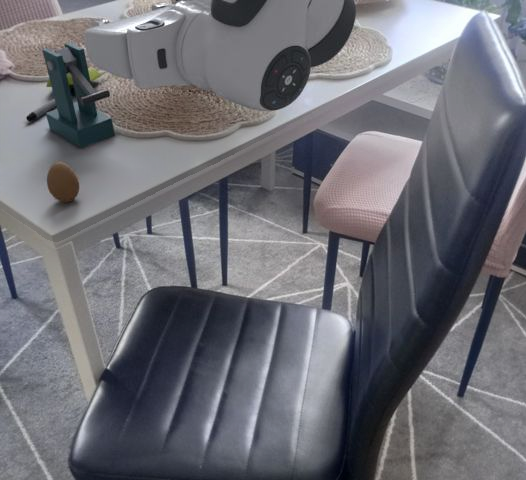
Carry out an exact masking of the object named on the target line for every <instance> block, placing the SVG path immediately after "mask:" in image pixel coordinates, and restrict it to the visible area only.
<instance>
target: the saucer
mask: <svg viewBox="0 0 526 480" xmlns="http://www.w3.org/2000/svg"><path fill="white" fill-rule="evenodd" d="M88 71H89V76H90V81H91V82H93V81H95V80H96V79H98V78H100V77H102V75H101V73H100V72H99V71H98V70H96V69H95V68H94V67H92V66H88ZM67 79H68V83H69V86H74V85H73V80H72V76H71V74H70V73H68V74H67ZM45 87H46V88H52V86H51V82H50V78H49V77H48V80H47V83H46V86H45Z"/></svg>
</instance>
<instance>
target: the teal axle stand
mask: <svg viewBox="0 0 526 480" xmlns="http://www.w3.org/2000/svg"><path fill="white" fill-rule="evenodd" d="M63 45H64V48H66V47H67V48H68V49H69V50H70V52H71V53H72V54H73V55H74V57H75V58H76V59H77V65H76V67H77V69H78V70H79V71H80V72H81V74H82V75H83V76H84V77H85V79H86V80H87V81H88V82H89V84H90V85H91V86H92V81H90V76H89V71H88V67H89V66H88V62H87V57H86V52H85V49H84V47H81V46H78V45H76V44H75V43H72V42H70V41H69V42H66V43H64V44H63ZM42 54H43V58H44V62H45V66H46V71H47V73H48V79H49V78H50V82H51V86H52V87H51V89H52V93H53V97H54V98H53V99H55V102H56V106H55V107H56V109H53V110H49V111H47V112H45V116H46V120H47V124H48V128H49V130H50V131H52V132H54V133H55V134H57V135H58V136H60V137H62V138H63V139H65V140H67V141H68V142H70V143H72V144H73V145H75V146H76V147H78V148H81V149H83V148H85V147H87V146H89V145H92V144H94V143H97V142H100V141H102V140H105V139H108V138H110V137H113V136H115V135H116V134H115V129H114V123H113V117H111V116H109V115H107V114H105V113H103V112H102V111H99V110H98V109H97V105H96V101H95V102H93V103H90V104H87V105H84V106H82V105H81V103H80V100H79V99H80V98H81V97H84V96H87V94H86V93H85V91H84V90H83V89H82V88H81V86H80V85H79V84H78V83H77V81H76V80H75V79H74V78H73V76H72V75H71V76H72V80H73V85H72V86H73V87H74V89H75V98H76V102H74V100H73V95H72V96H71V92H70V85H69V83H68V79H67V74H66V70H65V66H64V61H63V57H62V55H61V54H58V53H56V52H55V50H52V49H50V48H44V49H42Z"/></svg>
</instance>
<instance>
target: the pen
mask: <svg viewBox="0 0 526 480" xmlns="http://www.w3.org/2000/svg"><path fill="white" fill-rule="evenodd" d="M70 92H71V96H72V97H73V95H76V93H75V89H74V86H72V87H71V88H70ZM55 107H57V106H56V102H55V98H52V99H51V100H50V101H48V102H46V103H45V104H43V105H41V106H40V107H38V108H36V109H35V110H33V111H31V112H30V113H29V114H28V115H26V117H25V118H26V120H27V121H28V122H32V121H34V120H37V119H38V118H39V117H41V116H43V115H44V114H46V113H47V112H49V111H51V110H52V109H53V108H55Z"/></svg>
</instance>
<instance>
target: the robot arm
mask: <svg viewBox="0 0 526 480" xmlns="http://www.w3.org/2000/svg"><path fill="white" fill-rule="evenodd" d="M170 1H171V3H165V2H161V1H160V2H157V3H153V4H151V7H150V8H151V10H150V11H149V10H148V11H146V12H142V13H139V14H136V15H132V16H128V17H125V18H121V19H118V20H114V21H110V20H108V19H105V18H103V17H102V18H98V19H94V20H93V21H92V23H91V25H92V27H89V28H87V29H85V30H84V33H83V34H84V35H83V41H84V47H85V51H86V55H87V58H88V60H89V62H90V63H91V64H92V65H93V66H95V67H97V68H98V69H100V70H103V71H105V72H106V73H108V74H111V75H113V76H115V77H119V78H121V79H127V80H133V84H134V86H135V87H137V88H139V89H141V90H150V89H151V90H152V89H157V88H163V87H164V88H165V87H171V86H172V87H176V86H179V87H191V86H194V87H197V88H199V89H202V90H205V91H206V90H207V91H212V92H213V93H214V94H215V95H216V96H218V97H220V98H222V99H224V100H226V101H228V102H231V103H233V104H235V105H238V106H241V107H244V108H247V109H250V110H256V111H261V112H276V111H279V110H282V109H284V108H286V107H288V106H290V105H291V104H293V103H294V102H295V101H296V100H297V99H298V98H299V96H301V95H302V93H303V91H304V89H305V88H306V86H307V84H308V81H309V78H310V75H311V69H312V68H315V67H318V66H321V65H323V64H325V63H328V62H329V61H331V60H333V59H334V58H335V57H336V56H337V55H338V54H339V53H340V52H342V50H343V49H344V47H345V45H346V44H347V42H348V41H349V39H350V37H351V34H352V32H353V30H354V26H355V22H356V16H357V8H356V3H355V0H170Z"/></svg>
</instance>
